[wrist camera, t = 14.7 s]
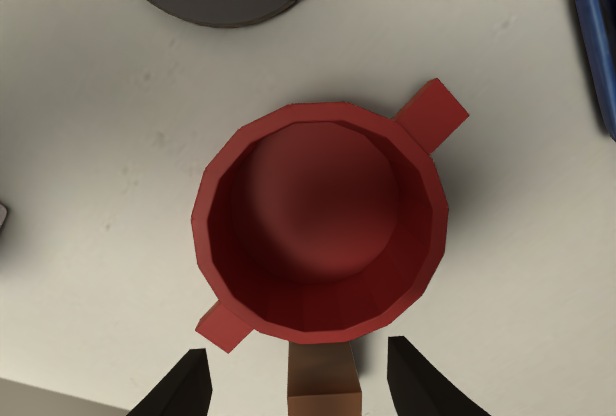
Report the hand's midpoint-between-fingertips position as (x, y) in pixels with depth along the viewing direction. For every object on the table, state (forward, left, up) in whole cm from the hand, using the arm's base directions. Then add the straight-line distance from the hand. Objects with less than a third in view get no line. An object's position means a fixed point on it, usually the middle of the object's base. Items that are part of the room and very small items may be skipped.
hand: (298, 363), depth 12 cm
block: (-6, -6, -9) cm, 13 cm away
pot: (+4, +1, -10) cm, 10 cm away
